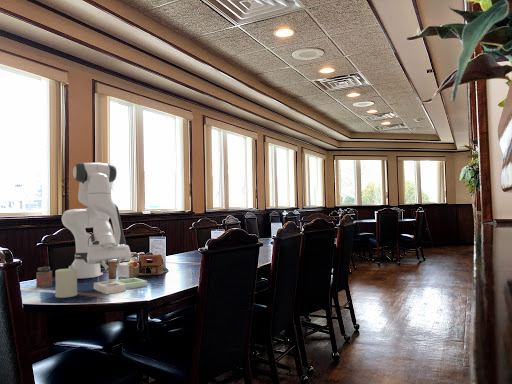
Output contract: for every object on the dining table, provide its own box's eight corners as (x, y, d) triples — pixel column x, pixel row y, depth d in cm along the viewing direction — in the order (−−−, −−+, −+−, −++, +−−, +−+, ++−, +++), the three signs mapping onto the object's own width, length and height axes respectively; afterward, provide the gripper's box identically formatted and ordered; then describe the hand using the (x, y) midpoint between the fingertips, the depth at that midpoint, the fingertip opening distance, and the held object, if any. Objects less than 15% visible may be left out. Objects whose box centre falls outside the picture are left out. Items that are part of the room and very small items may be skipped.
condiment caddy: (175, 270, 262) (175, 251, 262) (174, 277, 234) (173, 256, 235) (129, 272, 258) (129, 252, 258) (122, 279, 230) (122, 258, 230)
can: (76, 296, 186) (76, 269, 186) (53, 298, 183) (53, 270, 184) (78, 292, 195) (78, 266, 195) (57, 294, 192) (56, 268, 193)
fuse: (106, 280, 197) (106, 259, 197) (114, 279, 199) (114, 258, 199) (109, 281, 194) (109, 260, 194) (118, 280, 196) (118, 259, 196)
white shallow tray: (93, 289, 203) (93, 282, 203) (111, 286, 208) (111, 280, 209) (106, 294, 190) (106, 287, 191) (125, 291, 196) (125, 284, 196)
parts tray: (112, 285, 211) (112, 280, 211) (134, 282, 218) (134, 277, 219) (123, 289, 200) (123, 284, 200) (147, 286, 208) (147, 280, 208)
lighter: (50, 284, 216) (50, 265, 217) (53, 285, 214) (53, 266, 215) (34, 287, 210) (34, 267, 210) (38, 288, 208) (38, 268, 208)
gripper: (126, 248, 212) (133, 270, 204) (84, 251, 200) (89, 274, 192) (129, 240, 208) (136, 262, 200) (86, 242, 197) (91, 266, 189)
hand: (112, 268), depth 196 cm, fingers closed on fuse, 4 cm apart
